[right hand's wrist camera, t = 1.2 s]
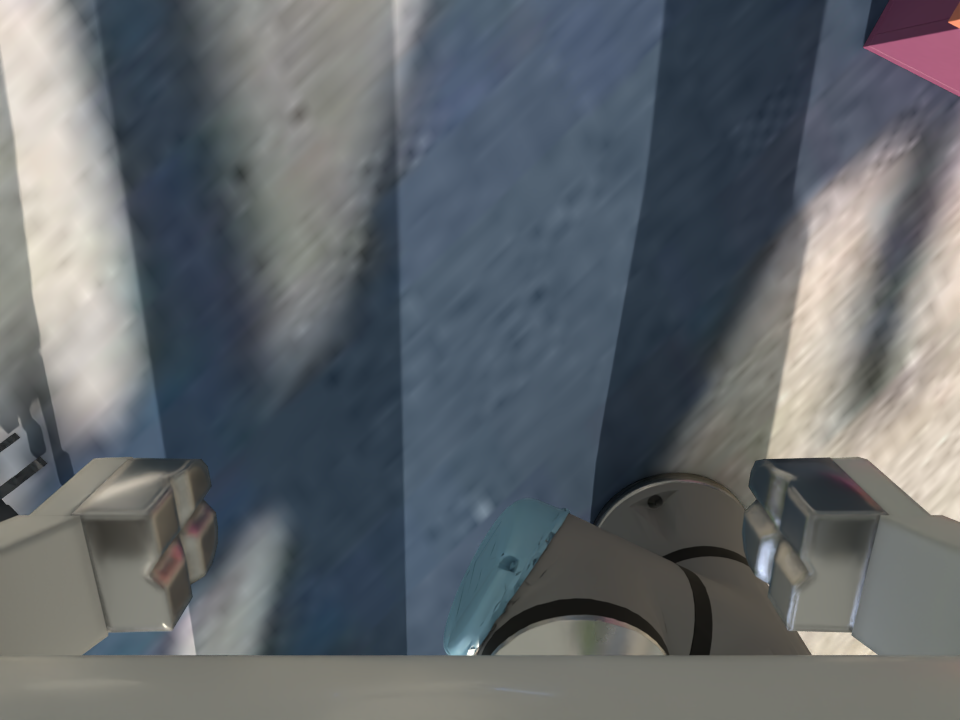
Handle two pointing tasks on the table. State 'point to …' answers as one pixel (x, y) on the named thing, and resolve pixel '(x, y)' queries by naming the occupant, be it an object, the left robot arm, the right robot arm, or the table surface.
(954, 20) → the lid
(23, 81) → the table surface
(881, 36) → the chest
